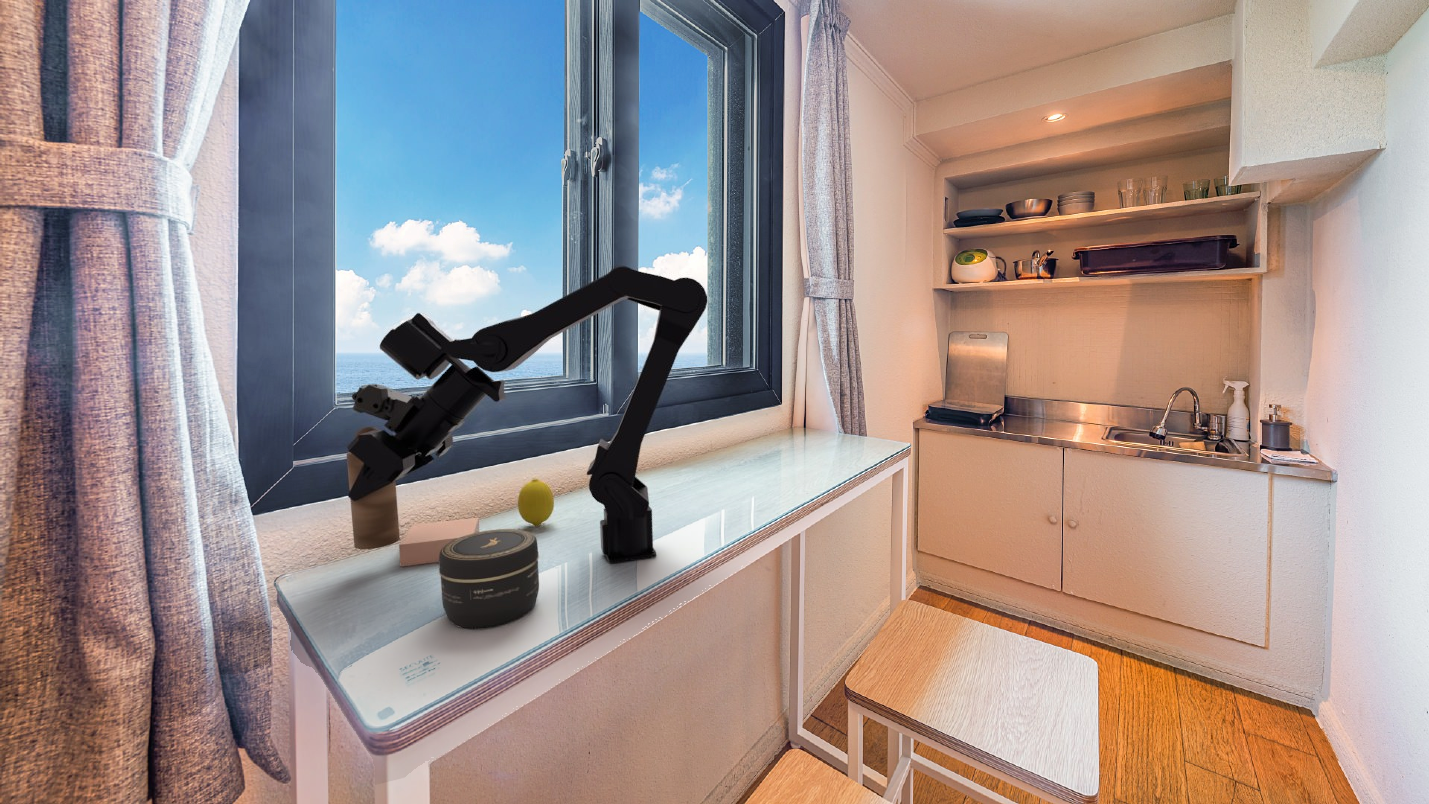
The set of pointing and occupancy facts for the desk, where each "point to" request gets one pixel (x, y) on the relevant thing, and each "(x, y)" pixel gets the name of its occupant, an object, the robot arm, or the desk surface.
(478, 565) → the jar
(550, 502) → the lemon
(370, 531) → the pepper mill
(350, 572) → the desk surface
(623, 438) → the robot arm
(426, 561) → the pink block base
